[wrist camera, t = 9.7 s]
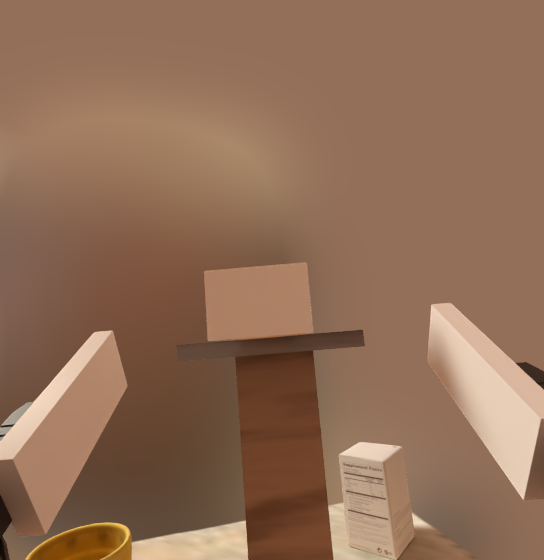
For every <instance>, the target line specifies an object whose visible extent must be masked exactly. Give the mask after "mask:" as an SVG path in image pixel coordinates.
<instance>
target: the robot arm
mask: <svg viewBox="0 0 544 560" xmlns="http://www.w3.org/2000/svg"><path fill="white" fill-rule="evenodd" d="M430 319H431V320H430V332H429V346H428V359H427V362H428V364H429V365H430V367H431V368H432V370H433V371H434V373H435V374H436V375H437V377H438V378H439V380H440V381H441V383H442V384H443V385H444V387H445V388H446V390H447V391H448V392H449V394H450V395H451V397H452V398H453V400H454V401H455V403H456V404H457V405H458V407H459V408H460V410H461V411H462V413H463V414H464V416H465V417H466V418H467V420H468V421H469V423H470V424H471V426H472V427H473V428H474V430H475V431H476V433H477V434H478V436H479V437H480V438H481V440H482V441H483V443H484V444H485V445H486V447H487V448H488V450H489V451H490V453H491V454H492V455H493V457H494V459H495V460H496V461H497V463H498V464H499V466H500V467H501V469H502V470H503V471H504V473H505V474H506V476H507V477H508V478H509V480H510V481H511V483H512V484H513V486H514V487H515V489H516V490H517V491H518V493H519V494H520V496H521V497H522V499H523V500H533V499H544V371H542V370H540V369H538V368H536V367H534V366H532V365H530V364H528V363H526V362H524V363H514V362H513V361H512V360H511V359H510V358H509V357H508V356H507V355H506V354H504V352H503V351H502V350H500V349H499V348H498V347H497V346H496V345H495V344H494V343H493V342H492V341H491V340H490V339H489V338H488V337H487V336H485V335H484V334H483V333H482V332H481V331H480V330H479V329H478V328H477V327H476V326H475V325H474V324H473V323H471V322H470V321H469V320H468V319H467V318H466V317H465V316H464V315H463V314H462V313H461V312H460V311H459V310H457V309H456V308H455V307H454V306H453V305H452V304H451V303H444V304H432V305H431V318H430ZM126 388H127V382H126V379H125V375H124V371H123V367H122V364H121V360H120V356H119V353H118V349H117V345H116V341H115V338H114V334H113V331H102V332H94V333H93V334H92V336H91V337H90V338H89V339H88V340H87V341H86V342H85V344H84V345H83V346H82V347H81V348H80V349H79V350H78V352H77V353H76V354H75V355H74V356H73V357H72V359H71V360H70V361H69V362H68V363H67V364H66V366H65V367H64V368H63V369H62V370H61V371H60V373H59V374H58V375H57V376H56V377H55V378H54V379H53V381H52V382H51V383H50V384H49V385H48V387H47V388H46V389H45V390H44V391H43V392H42V394H41V395H40V396H39V397H38V398H37V399H36V400H35V402H28V403H26V404H25V405H23V406H22V407H20V408H19V409H18V410H16V411H15V412H14V413H12V414H11V415H10V416H9V417H8V418H7V420H6V421H5V422H4V423H3V424H2V425H1V428H0V560H10V559H9V554H8V549H7V544H6V542H5V540H4V538H3V536H2V535H3V533H4V532H5V531H6V529H7V528H8V526H9V524H10V523H11V522H12V524H13V526H14V528H15V530H16V532H17V534H18V536H32V535H45V534H46V533H47V531H48V530H49V528H50V526H51V524H52V522H53V520H54V519H55V517H56V515H57V513H58V511H59V509H60V508H61V506H62V504H63V502H64V500H65V499H66V497H67V495H68V493H69V491H70V489H71V487H72V485H73V484H74V482H75V480H76V478H77V477H78V475H79V473H80V471H81V469H82V468H83V466H84V464H85V462H86V460H87V458H88V457H89V454H90V453H91V451H92V449H93V448H94V446H95V444H96V442H97V440H98V439H99V437H100V435H101V433H102V431H103V429H104V427H105V426H106V424H107V422H108V420H109V418H110V416H111V415H112V413H113V411H114V409H115V407H116V406H117V404H118V402H119V400H120V398H121V397H122V395H123V393H124V391H125V389H126Z"/></svg>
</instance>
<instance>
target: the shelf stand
mask: <svg viewBox="0 0 544 560" xmlns="http://www.w3.org/2000/svg"><path fill="white" fill-rule="evenodd" d="M360 346H365V344H364V336H363V330H355V331H343V332H331V333H319V334H307V335H295V336H283V337H271V338H258V339H246V340H234V341H222V342H212V343H211V342H210V343H199V344H186V345H177V361H190V360H202V359H214V358H226V357H235V360H236V375H237V388H238V389H237V390H238V405H239V420H240V436H241V452H242V466H243V482H244V497H245V512H246V528H247V543H248V559H249V560H333V552H332V542H331V532H330V521H329V511H328V501H327V491H326V480H325V470H324V460H323V449H322V439H321V429H320V419H319V408H318V398H317V388H316V377H315V367H314V358H313V350H323V349H335V348H347V347H360Z"/></svg>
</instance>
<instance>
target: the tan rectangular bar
mask: <svg viewBox="0 0 544 560" xmlns="http://www.w3.org/2000/svg"><path fill="white" fill-rule="evenodd" d="M204 277H205V295H206V296H205V297H206V314H207V334H208V341H216V340H246V339H258V338H271V337H283V336H295V335H301V334H305V333H312V332H313V322H312V312H311V302H310V291H309V282H308V271H307V262H306V263H294V264H282V265H269V266H258V267H246V268H234V269H223V270H211V271H204Z"/></svg>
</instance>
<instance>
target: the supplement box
mask: <svg viewBox="0 0 544 560" xmlns="http://www.w3.org/2000/svg"><path fill="white" fill-rule="evenodd" d="M339 462H340V471H341V481H342V490H343V500H344V509H345V518H346V527H347V536H348V544H349V546H350V547H353V548H356V549H360V550H363V551H366V552H369V553H373V554H376V555H379V556H383V557H386V558H390V559H393V560H397V559H398V558H399V556H400V555H401V554H402V552H403V551H404V550H405V548H406V547H407V546H408V544H409V543H410V542H411V540H412V539H413V538H414V536H415V534H414V527H413V519H412V512H411V505H410V498H409V490H408V482H407V475H406V468H405V460H404V453H403V447H400V446H394V445H385V444H374V443H365V442H359V443H358V444H356V445H354V446H353V447H351V448H349V449H348V450H346V451H344V452H343V453H341V454H339Z"/></svg>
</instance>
